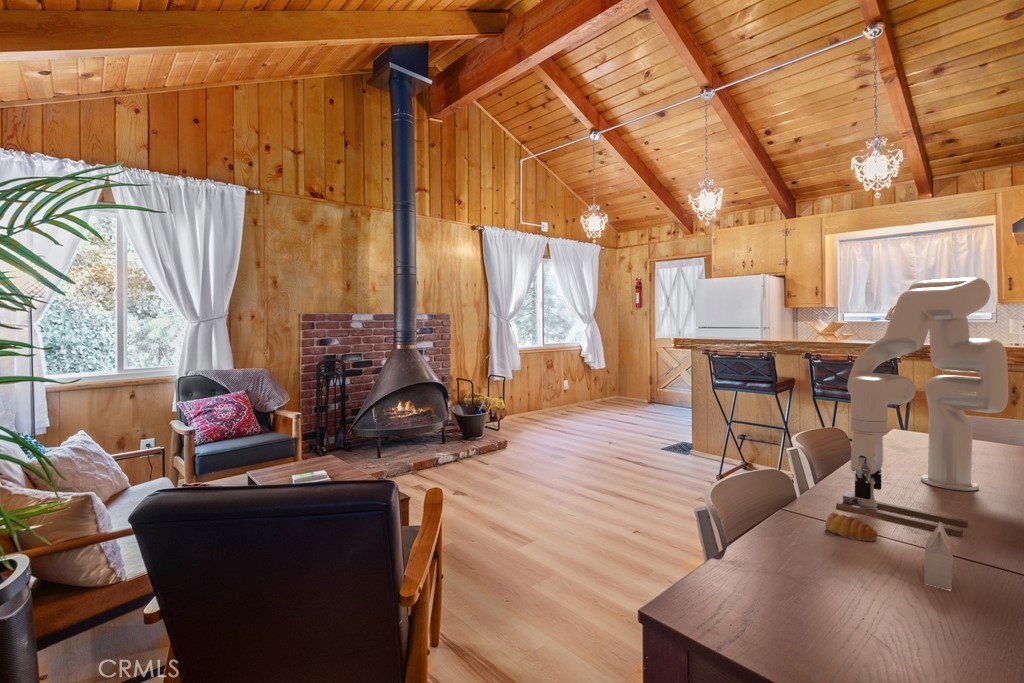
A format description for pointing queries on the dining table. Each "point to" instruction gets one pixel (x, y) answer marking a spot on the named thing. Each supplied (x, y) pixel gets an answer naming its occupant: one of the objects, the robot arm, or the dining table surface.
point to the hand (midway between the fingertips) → (868, 493)
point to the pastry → (850, 527)
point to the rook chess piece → (871, 502)
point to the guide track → (909, 520)
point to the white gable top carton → (938, 559)
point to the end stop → (850, 498)
